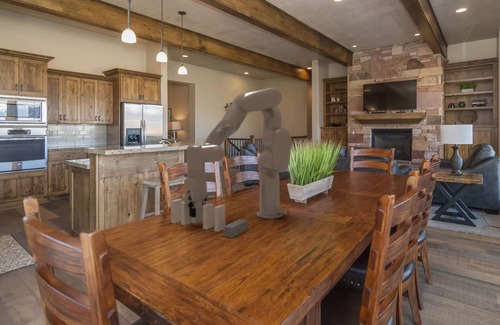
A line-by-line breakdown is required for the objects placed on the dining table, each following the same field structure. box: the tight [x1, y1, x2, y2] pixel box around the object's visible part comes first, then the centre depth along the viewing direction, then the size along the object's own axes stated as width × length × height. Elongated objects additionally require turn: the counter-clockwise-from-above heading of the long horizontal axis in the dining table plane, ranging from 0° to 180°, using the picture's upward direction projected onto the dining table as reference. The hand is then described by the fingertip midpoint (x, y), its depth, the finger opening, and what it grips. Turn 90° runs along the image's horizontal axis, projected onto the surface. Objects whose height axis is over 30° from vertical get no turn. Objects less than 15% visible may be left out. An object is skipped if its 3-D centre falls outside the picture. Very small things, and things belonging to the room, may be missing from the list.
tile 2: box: [180, 202, 193, 226], centre depth 137 cm, size 2×5×10 cm, turn 150°
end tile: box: [170, 198, 182, 224], centre depth 140 cm, size 2×5×10 cm, turn 150°
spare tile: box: [191, 199, 203, 224], centre depth 134 cm, size 2×5×10 cm, turn 150°
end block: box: [223, 218, 249, 239], centre depth 124 cm, size 4×12×4 cm, turn 150°
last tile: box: [213, 204, 226, 233], centre depth 128 cm, size 2×5×10 cm, turn 150°
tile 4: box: [202, 202, 215, 231], centre depth 131 cm, size 2×5×10 cm, turn 150°
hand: (197, 214), depth 134 cm, fingers closed on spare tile, 4 cm apart
